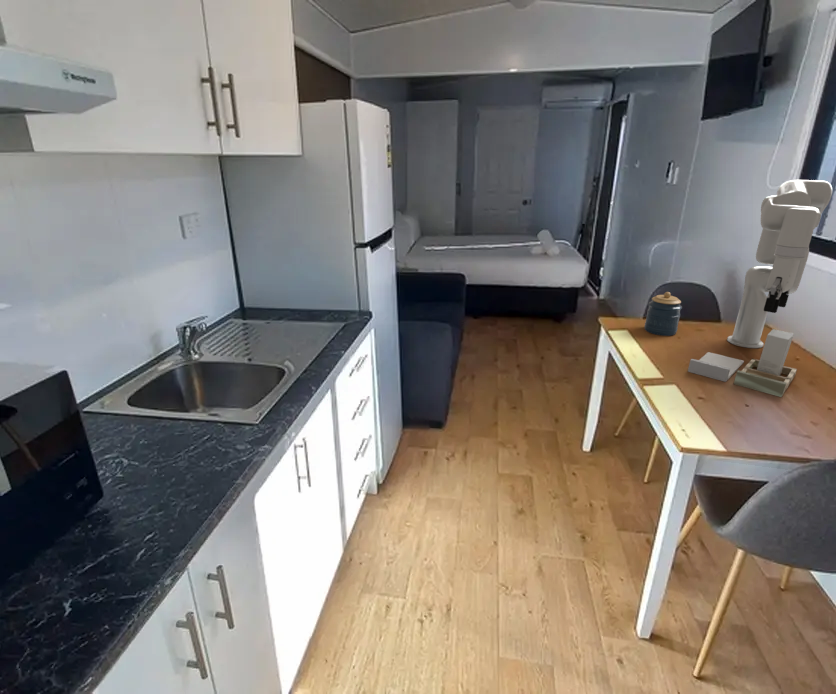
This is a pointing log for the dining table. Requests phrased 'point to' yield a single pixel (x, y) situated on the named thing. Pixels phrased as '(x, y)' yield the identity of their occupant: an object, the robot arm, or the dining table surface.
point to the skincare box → (775, 352)
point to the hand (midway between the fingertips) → (774, 309)
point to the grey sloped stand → (715, 366)
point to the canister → (663, 315)
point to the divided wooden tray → (764, 379)
